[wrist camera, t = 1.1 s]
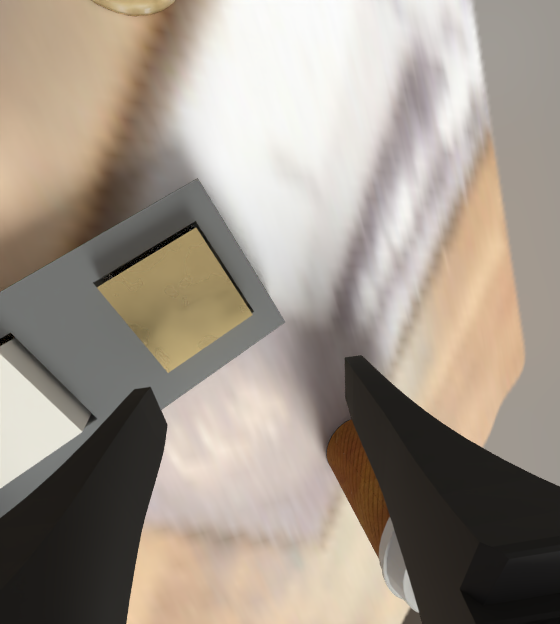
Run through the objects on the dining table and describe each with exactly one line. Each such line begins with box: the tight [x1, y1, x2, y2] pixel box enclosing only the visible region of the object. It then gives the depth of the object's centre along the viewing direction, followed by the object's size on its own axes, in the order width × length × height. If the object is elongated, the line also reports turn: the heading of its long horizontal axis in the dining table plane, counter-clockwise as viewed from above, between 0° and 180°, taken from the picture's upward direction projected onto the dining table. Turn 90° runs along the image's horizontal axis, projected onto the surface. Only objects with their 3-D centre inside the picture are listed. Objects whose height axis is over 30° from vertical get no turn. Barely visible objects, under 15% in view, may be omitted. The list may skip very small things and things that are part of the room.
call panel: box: [0, 178, 285, 518], centre depth 20 cm, size 22×11×3 cm, turn 120°
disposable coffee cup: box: [327, 419, 419, 612], centre depth 25 cm, size 10×10×12 cm
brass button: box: [97, 228, 253, 373], centre depth 20 cm, size 6×6×3 cm
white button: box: [0, 338, 91, 488], centre depth 18 cm, size 6×6×3 cm
